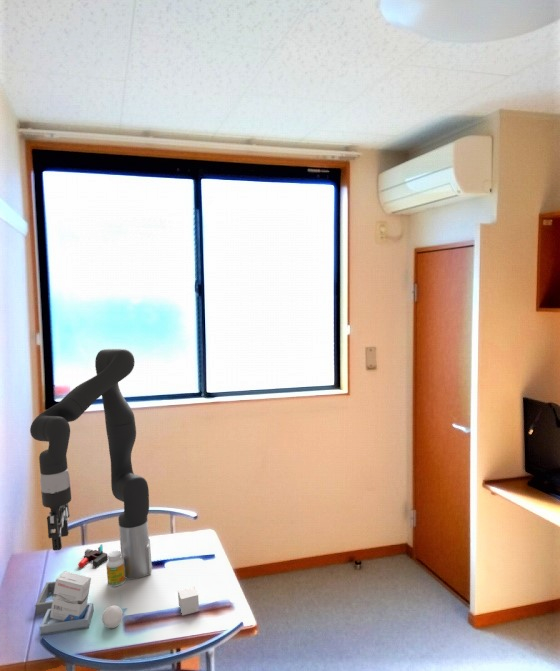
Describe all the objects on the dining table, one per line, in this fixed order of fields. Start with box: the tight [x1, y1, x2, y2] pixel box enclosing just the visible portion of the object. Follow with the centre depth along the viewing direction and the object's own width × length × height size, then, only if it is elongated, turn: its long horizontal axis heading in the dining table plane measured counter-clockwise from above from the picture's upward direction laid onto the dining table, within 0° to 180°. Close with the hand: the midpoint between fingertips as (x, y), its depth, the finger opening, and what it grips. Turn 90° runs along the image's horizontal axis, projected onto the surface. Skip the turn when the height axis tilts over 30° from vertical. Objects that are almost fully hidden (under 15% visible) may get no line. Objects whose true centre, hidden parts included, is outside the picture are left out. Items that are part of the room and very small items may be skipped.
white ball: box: [101, 605, 124, 629], centre depth 150 cm, size 8×6×6 cm
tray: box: [39, 602, 95, 636], centre depth 152 cm, size 9×13×2 cm
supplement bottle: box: [105, 550, 126, 587], centre depth 172 cm, size 5×5×10 cm
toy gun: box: [77, 544, 108, 569], centre depth 188 cm, size 10×12×5 cm
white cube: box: [177, 586, 200, 616], centre depth 156 cm, size 5×5×5 cm
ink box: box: [50, 570, 92, 621], centre depth 152 cm, size 8×5×12 cm, turn 84°
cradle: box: [34, 580, 56, 615], centre depth 164 cm, size 8×13×3 cm, turn 10°
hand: (61, 542), depth 150 cm, fingers open, 8 cm apart
